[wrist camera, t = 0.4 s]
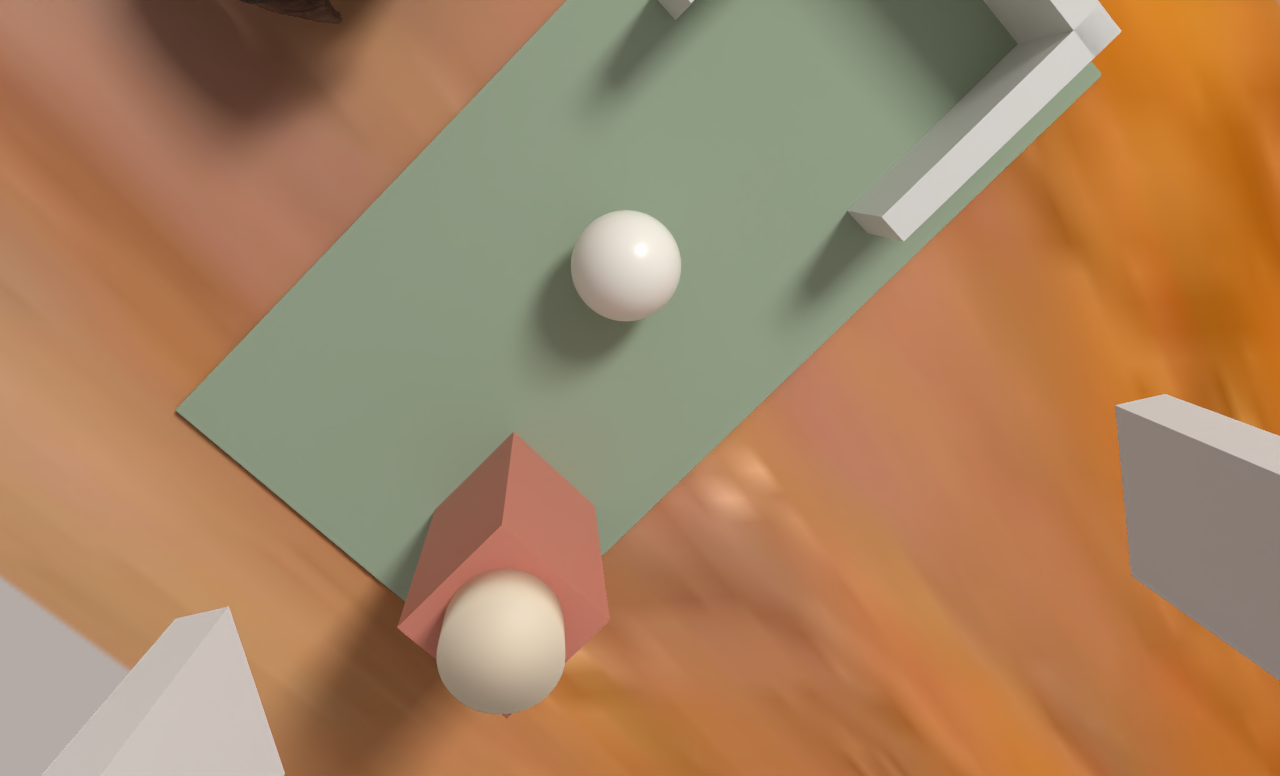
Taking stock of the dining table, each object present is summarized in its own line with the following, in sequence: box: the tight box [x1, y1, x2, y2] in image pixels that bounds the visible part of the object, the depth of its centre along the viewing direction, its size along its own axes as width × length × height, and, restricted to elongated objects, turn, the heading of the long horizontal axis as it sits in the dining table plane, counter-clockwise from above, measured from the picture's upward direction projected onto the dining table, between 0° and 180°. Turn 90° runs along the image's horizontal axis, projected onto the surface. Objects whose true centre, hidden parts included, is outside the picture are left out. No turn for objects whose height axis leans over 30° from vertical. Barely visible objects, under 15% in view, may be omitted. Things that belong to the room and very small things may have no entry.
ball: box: [571, 210, 681, 322], centre depth 35 cm, size 4×4×4 cm
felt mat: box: [176, 0, 1102, 602], centre depth 37 cm, size 16×34×1 cm, turn 135°
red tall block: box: [397, 432, 610, 718], centre depth 33 cm, size 4×4×12 cm
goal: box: [658, 0, 1121, 242], centre depth 34 cm, size 12×10×4 cm
